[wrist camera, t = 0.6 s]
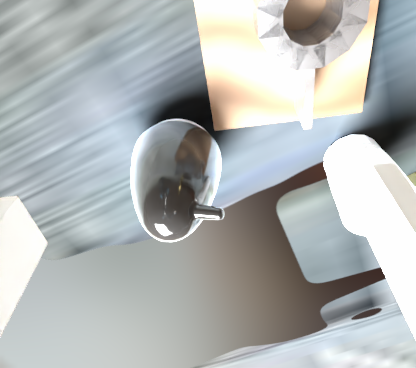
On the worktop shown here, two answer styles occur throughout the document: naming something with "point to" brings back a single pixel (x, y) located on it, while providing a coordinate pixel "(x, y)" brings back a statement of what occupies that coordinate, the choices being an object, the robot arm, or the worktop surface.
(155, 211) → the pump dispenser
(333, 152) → the white cup
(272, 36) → the white piece
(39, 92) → the worktop surface
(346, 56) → the mount board
